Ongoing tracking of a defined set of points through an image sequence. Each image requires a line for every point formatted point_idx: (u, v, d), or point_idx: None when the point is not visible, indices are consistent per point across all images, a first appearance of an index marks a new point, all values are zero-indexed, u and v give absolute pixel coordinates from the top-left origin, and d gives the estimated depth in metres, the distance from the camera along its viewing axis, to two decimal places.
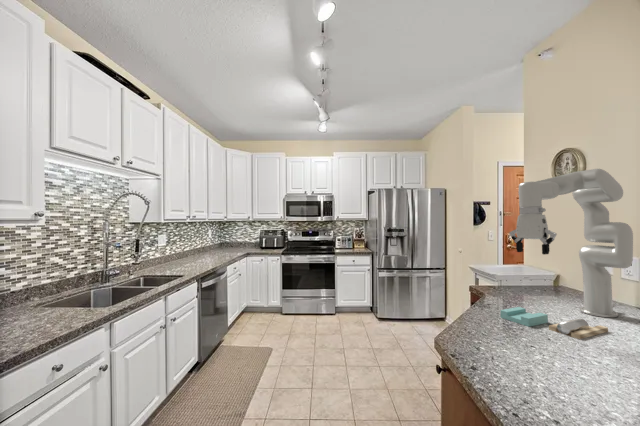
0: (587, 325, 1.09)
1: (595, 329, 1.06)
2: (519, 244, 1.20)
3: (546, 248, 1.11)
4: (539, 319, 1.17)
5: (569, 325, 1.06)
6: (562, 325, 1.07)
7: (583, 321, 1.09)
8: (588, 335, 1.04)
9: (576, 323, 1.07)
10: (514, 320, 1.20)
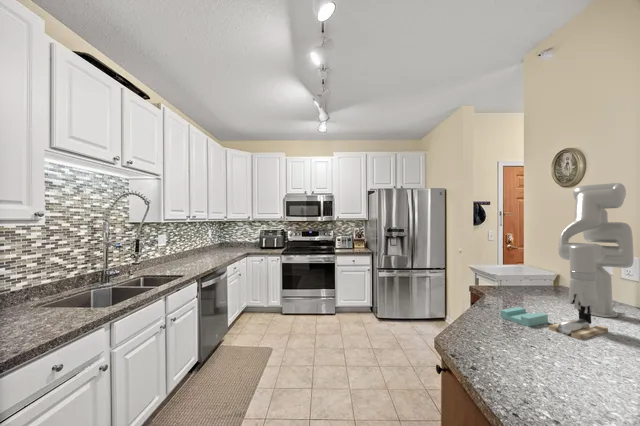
0: (588, 326, 1.08)
1: (595, 329, 1.06)
2: None
3: None
4: (539, 319, 1.17)
5: (571, 326, 1.05)
6: (563, 325, 1.06)
7: (585, 322, 1.09)
8: (588, 335, 1.04)
9: (578, 325, 1.07)
10: (514, 320, 1.20)
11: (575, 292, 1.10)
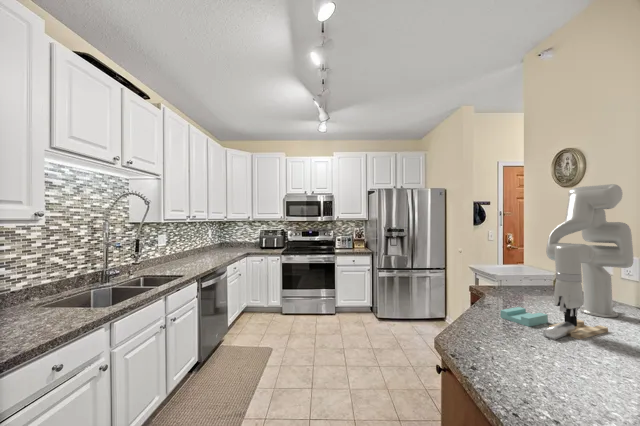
0: (574, 329, 1.05)
1: (595, 329, 1.06)
2: None
3: None
4: (539, 319, 1.17)
5: (556, 331, 1.02)
6: (548, 331, 1.03)
7: (570, 325, 1.05)
8: (588, 335, 1.04)
9: (563, 329, 1.04)
10: (514, 320, 1.20)
11: (560, 294, 1.07)
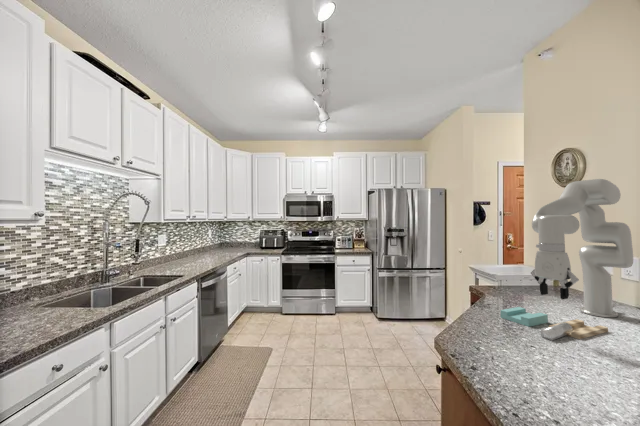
0: (571, 330, 1.05)
1: (595, 329, 1.06)
2: None
3: None
4: (539, 319, 1.17)
5: (553, 332, 1.02)
6: (545, 332, 1.03)
7: (568, 326, 1.05)
8: (588, 335, 1.04)
9: (561, 330, 1.03)
10: (514, 320, 1.20)
11: (568, 266, 1.01)
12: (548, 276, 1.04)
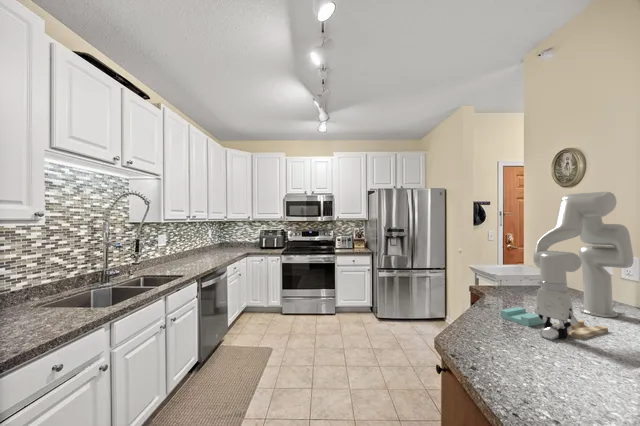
0: (570, 329, 1.05)
1: (595, 329, 1.06)
2: None
3: None
4: (539, 319, 1.17)
5: (552, 331, 1.02)
6: (544, 331, 1.03)
7: None
8: (588, 335, 1.04)
9: None
10: (514, 320, 1.20)
11: (570, 306, 1.00)
12: (550, 315, 1.04)
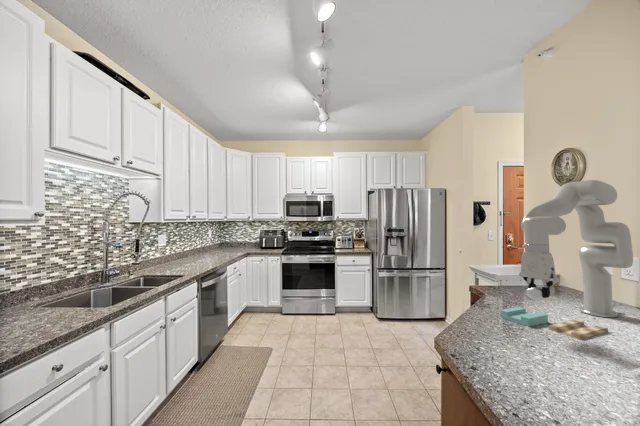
0: (553, 289, 1.10)
1: (595, 329, 1.06)
2: None
3: None
4: (539, 319, 1.17)
5: (535, 290, 1.07)
6: (528, 291, 1.08)
7: None
8: (588, 335, 1.04)
9: None
10: (514, 320, 1.20)
11: (552, 265, 1.05)
12: (533, 276, 1.09)
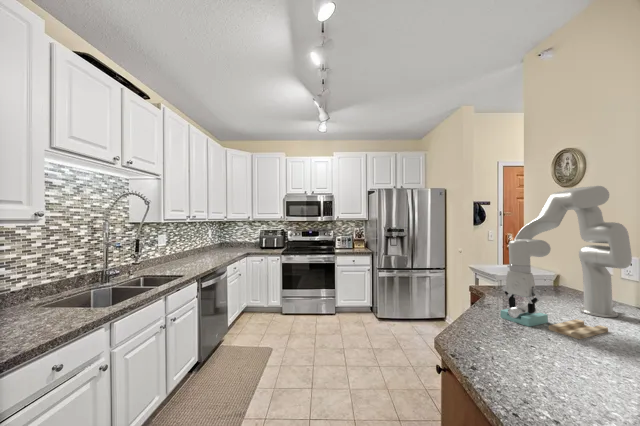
0: (535, 310, 1.22)
1: (595, 329, 1.06)
2: None
3: None
4: (539, 319, 1.17)
5: (518, 309, 1.20)
6: (511, 310, 1.20)
7: None
8: (588, 335, 1.04)
9: (524, 308, 1.21)
10: (514, 320, 1.20)
11: (532, 285, 1.18)
12: (516, 293, 1.21)
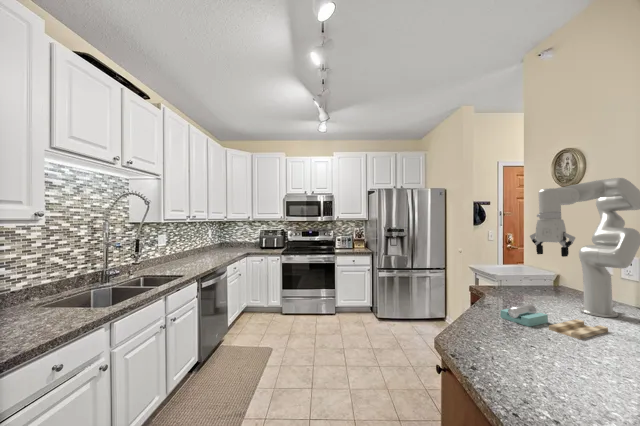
0: (535, 310, 1.22)
1: (595, 329, 1.06)
2: None
3: None
4: (539, 319, 1.17)
5: (518, 309, 1.19)
6: (511, 310, 1.20)
7: (531, 307, 1.23)
8: (588, 335, 1.04)
9: (525, 309, 1.21)
10: (514, 320, 1.20)
11: (563, 230, 1.20)
12: (547, 240, 1.23)
